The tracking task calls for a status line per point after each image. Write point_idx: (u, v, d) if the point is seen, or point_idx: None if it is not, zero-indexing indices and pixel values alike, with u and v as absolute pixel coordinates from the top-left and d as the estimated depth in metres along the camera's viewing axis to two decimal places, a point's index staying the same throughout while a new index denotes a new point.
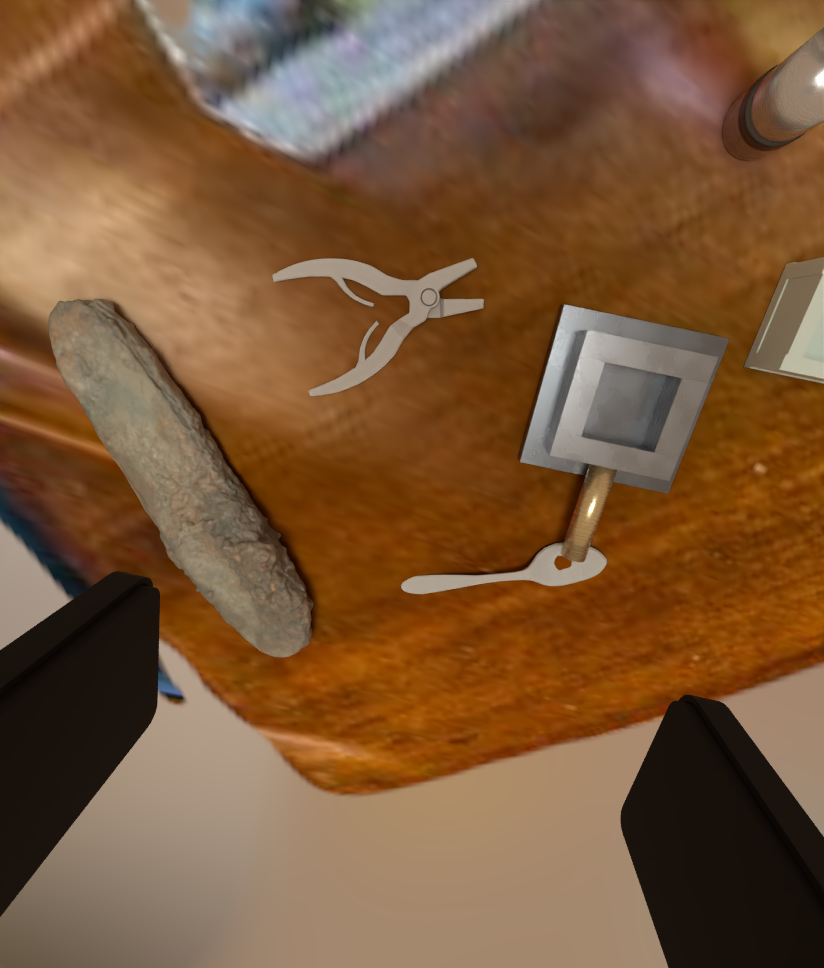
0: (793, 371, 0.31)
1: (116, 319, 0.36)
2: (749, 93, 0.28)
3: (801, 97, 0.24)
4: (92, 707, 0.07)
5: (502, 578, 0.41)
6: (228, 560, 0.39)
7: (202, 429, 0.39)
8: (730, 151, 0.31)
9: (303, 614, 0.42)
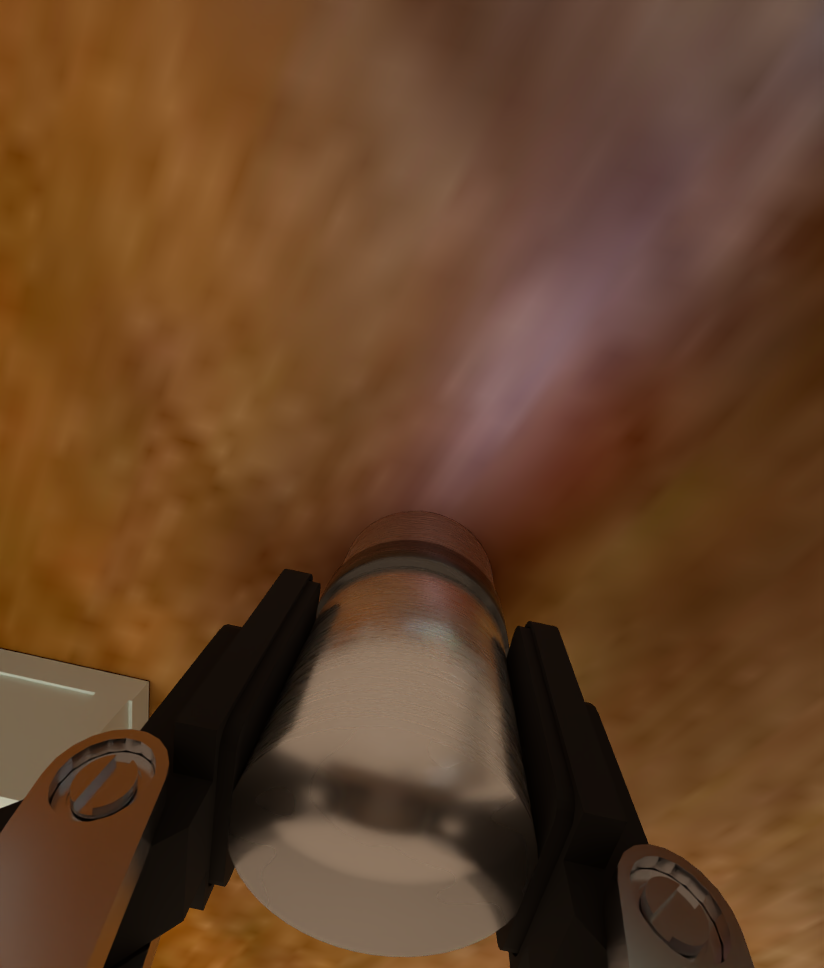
0: None
1: None
2: (442, 559, 0.09)
3: (271, 755, 0.06)
4: None
5: None
6: None
7: None
8: (358, 537, 0.12)
9: None
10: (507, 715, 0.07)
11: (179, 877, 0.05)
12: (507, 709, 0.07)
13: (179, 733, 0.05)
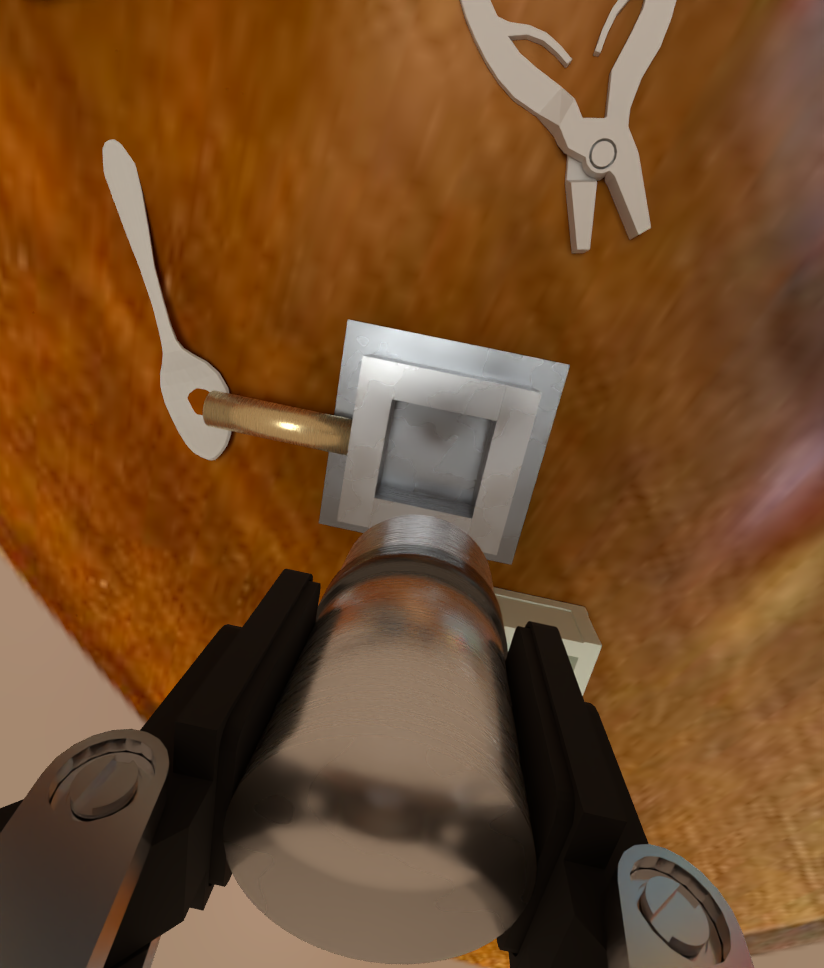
0: None
1: None
2: (441, 564, 0.09)
3: (269, 764, 0.06)
4: None
5: (157, 307, 0.26)
6: None
7: None
8: (357, 540, 0.12)
9: None
10: (506, 722, 0.07)
11: (179, 877, 0.05)
12: (506, 716, 0.07)
13: (179, 733, 0.05)
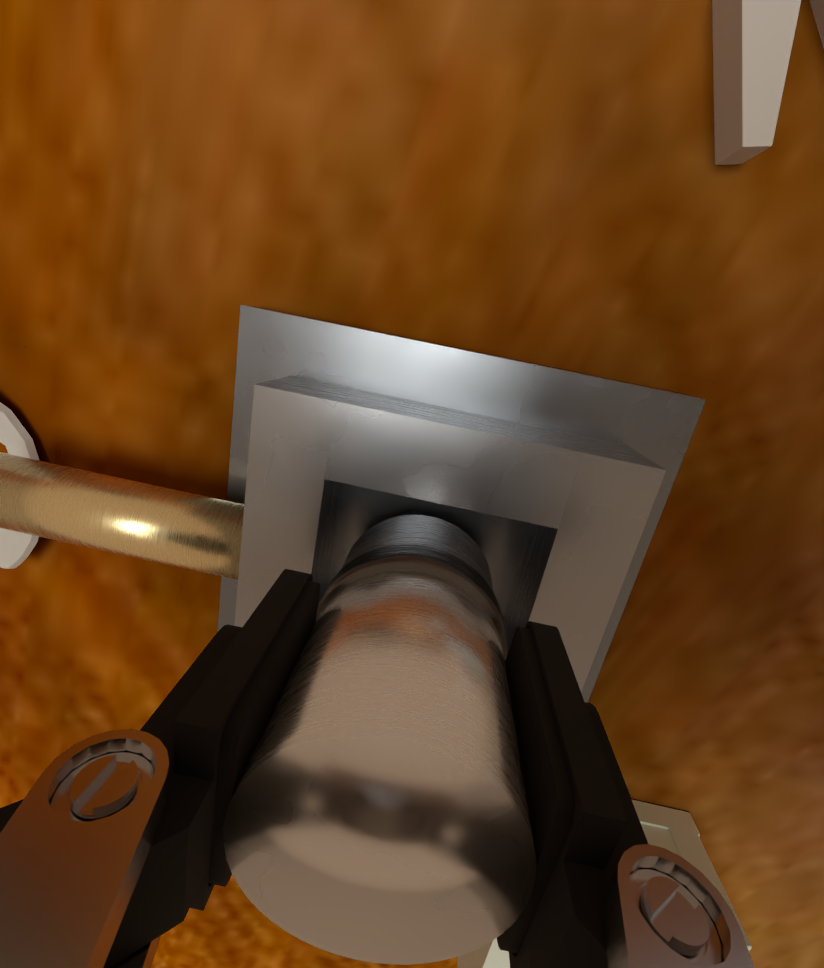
0: None
1: None
2: (441, 564, 0.09)
3: (270, 763, 0.06)
4: None
5: None
6: None
7: None
8: (357, 540, 0.12)
9: None
10: (506, 722, 0.07)
11: (179, 877, 0.05)
12: (506, 716, 0.07)
13: (179, 733, 0.05)
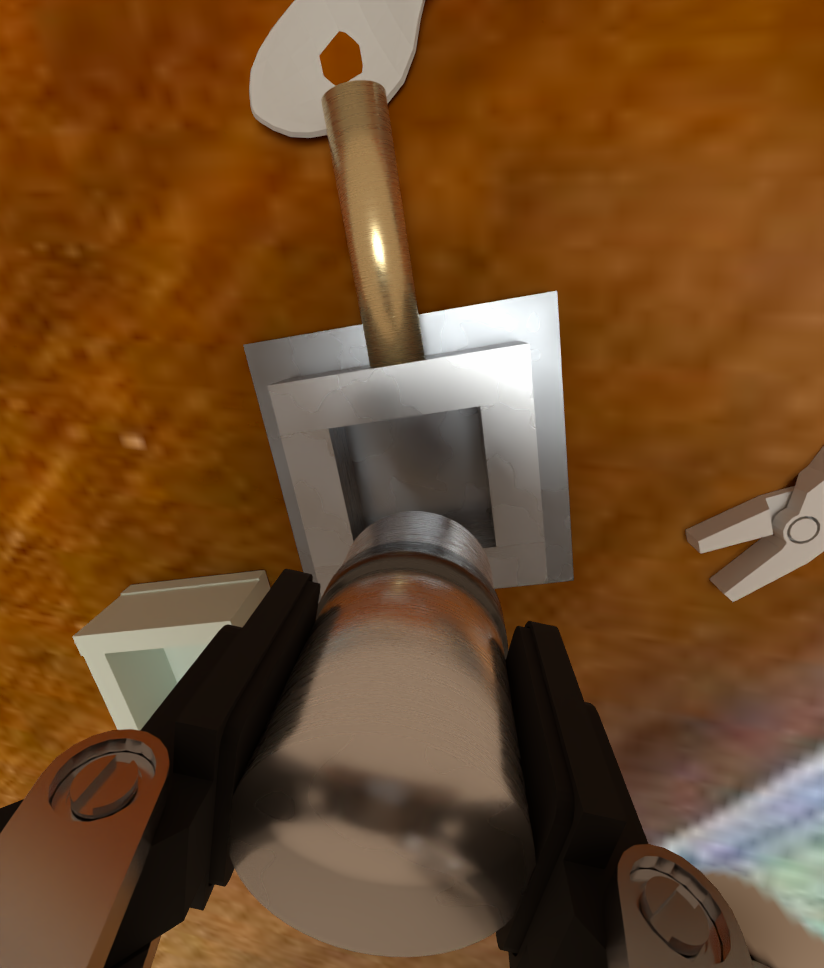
0: (209, 623, 0.19)
1: None
2: (441, 561, 0.09)
3: (270, 761, 0.06)
4: None
5: None
6: None
7: None
8: (357, 537, 0.12)
9: None
10: (505, 718, 0.07)
11: (179, 877, 0.05)
12: (505, 712, 0.07)
13: (179, 733, 0.05)
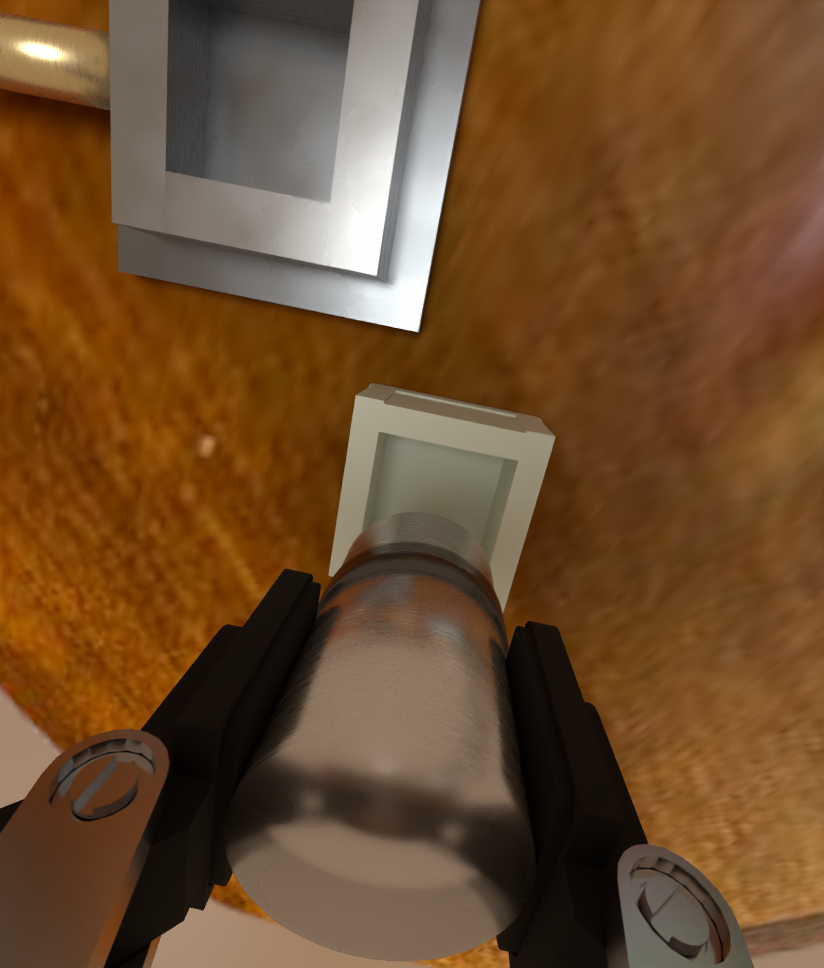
0: (353, 421, 0.16)
1: None
2: (441, 562, 0.09)
3: (269, 764, 0.06)
4: None
5: None
6: None
7: None
8: (357, 538, 0.12)
9: None
10: (506, 720, 0.07)
11: (179, 877, 0.05)
12: (506, 714, 0.07)
13: (179, 733, 0.05)
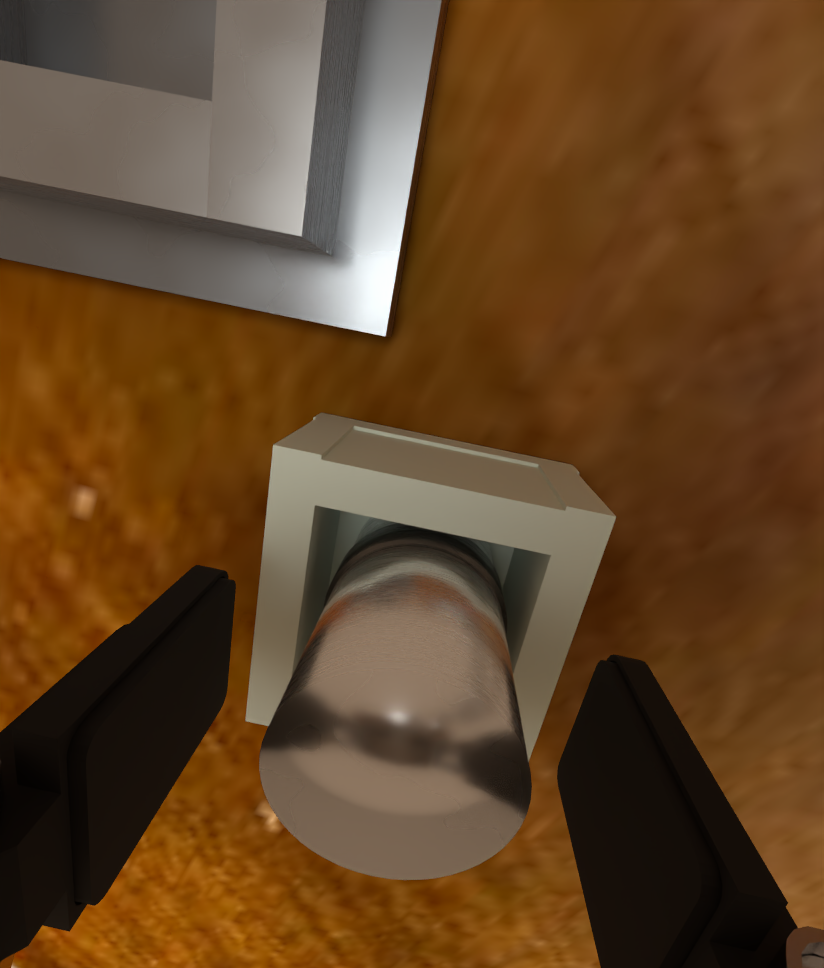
0: (272, 488, 0.10)
1: None
2: (446, 538, 0.10)
3: (302, 696, 0.07)
4: (186, 688, 0.07)
5: None
6: None
7: None
8: (367, 522, 0.13)
9: None
10: (505, 669, 0.08)
11: (14, 900, 0.05)
12: (505, 664, 0.08)
13: (17, 742, 0.05)
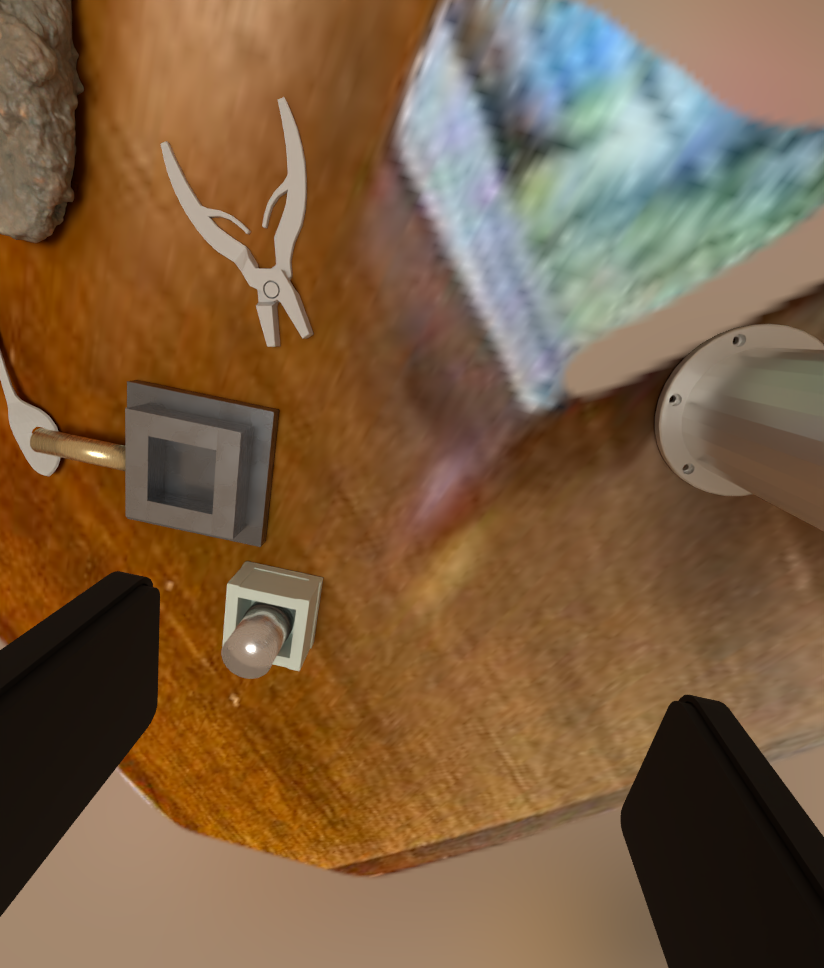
0: (227, 593, 0.39)
1: None
2: None
3: (228, 640, 0.36)
4: (92, 707, 0.07)
5: (1, 373, 0.38)
6: None
7: None
8: None
9: (47, 186, 0.32)
10: (273, 636, 0.37)
11: None
12: (274, 635, 0.37)
13: None
